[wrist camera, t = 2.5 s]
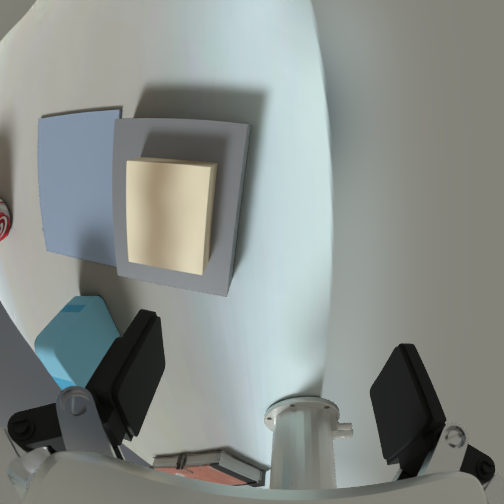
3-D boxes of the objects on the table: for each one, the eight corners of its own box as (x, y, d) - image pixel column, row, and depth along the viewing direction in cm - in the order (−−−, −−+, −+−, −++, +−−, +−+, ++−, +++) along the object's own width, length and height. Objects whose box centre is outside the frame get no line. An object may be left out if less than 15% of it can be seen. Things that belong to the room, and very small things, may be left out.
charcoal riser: (251, 125, 23) (247, 124, 20) (232, 278, 30) (226, 296, 27) (132, 118, 24) (114, 118, 21) (131, 260, 30) (117, 275, 27)
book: (219, 446, 49) (216, 465, 45) (265, 469, 54) (264, 485, 50) (151, 454, 58) (146, 468, 53) (195, 477, 63) (192, 490, 58)
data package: (78, 291, 34) (29, 344, 23) (100, 290, 33) (50, 348, 22) (109, 354, 38) (77, 409, 28) (132, 356, 38) (100, 416, 27)
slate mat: (121, 109, 23) (119, 109, 23) (121, 266, 31) (119, 267, 31) (40, 118, 24) (38, 118, 23) (48, 249, 31) (46, 250, 31)
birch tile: (217, 163, 22) (210, 167, 20) (208, 261, 26) (202, 275, 23) (140, 157, 22) (126, 160, 20) (140, 250, 26) (128, 261, 23)
